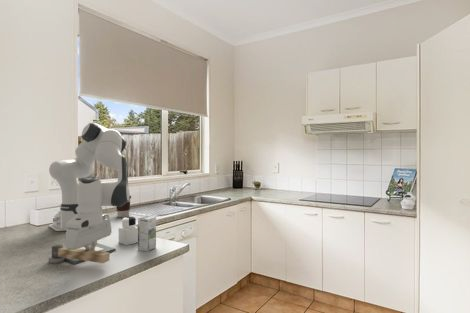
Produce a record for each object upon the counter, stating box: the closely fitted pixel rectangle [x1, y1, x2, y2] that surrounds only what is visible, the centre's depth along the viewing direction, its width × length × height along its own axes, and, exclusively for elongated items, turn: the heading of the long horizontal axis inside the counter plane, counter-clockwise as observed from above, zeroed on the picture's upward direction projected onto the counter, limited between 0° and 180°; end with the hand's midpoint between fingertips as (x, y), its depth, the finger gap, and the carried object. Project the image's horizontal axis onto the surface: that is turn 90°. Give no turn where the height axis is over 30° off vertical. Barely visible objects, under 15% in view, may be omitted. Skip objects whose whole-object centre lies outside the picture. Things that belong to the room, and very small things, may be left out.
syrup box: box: [137, 215, 157, 252], centre depth 132 cm, size 6×6×14 cm
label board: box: [48, 242, 117, 265], centre depth 124 cm, size 16×23×2 cm
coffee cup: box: [115, 195, 132, 218], centre depth 197 cm, size 10×10×15 cm
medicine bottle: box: [118, 216, 138, 246], centre depth 141 cm, size 7×7×12 cm
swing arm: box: [51, 243, 110, 264], centre depth 114 cm, size 26×4×4 cm, turn 72°
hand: (90, 253), depth 116 cm, fingers closed
